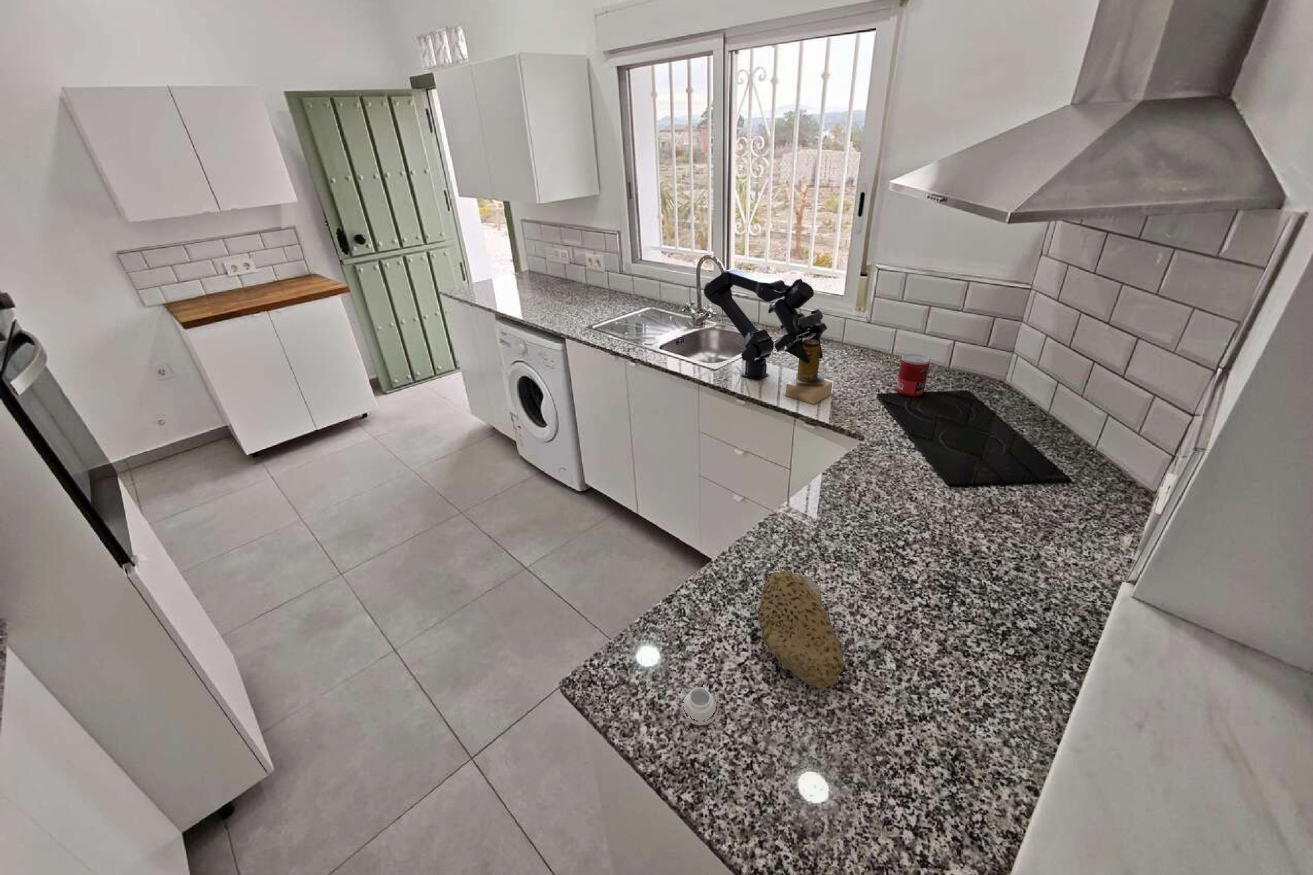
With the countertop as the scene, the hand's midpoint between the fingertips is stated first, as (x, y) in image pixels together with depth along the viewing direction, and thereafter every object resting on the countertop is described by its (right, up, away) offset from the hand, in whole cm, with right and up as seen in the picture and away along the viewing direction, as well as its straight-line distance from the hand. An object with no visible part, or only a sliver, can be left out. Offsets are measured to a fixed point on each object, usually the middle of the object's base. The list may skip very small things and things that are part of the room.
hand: (815, 360), depth 161 cm
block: (0, -10, +6) cm, 12 cm away
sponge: (-25, -56, -75) cm, 97 cm away
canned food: (+31, -9, +5) cm, 33 cm away
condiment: (0, -5, +4) cm, 7 cm away
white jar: (-42, -62, -85) cm, 113 cm away
